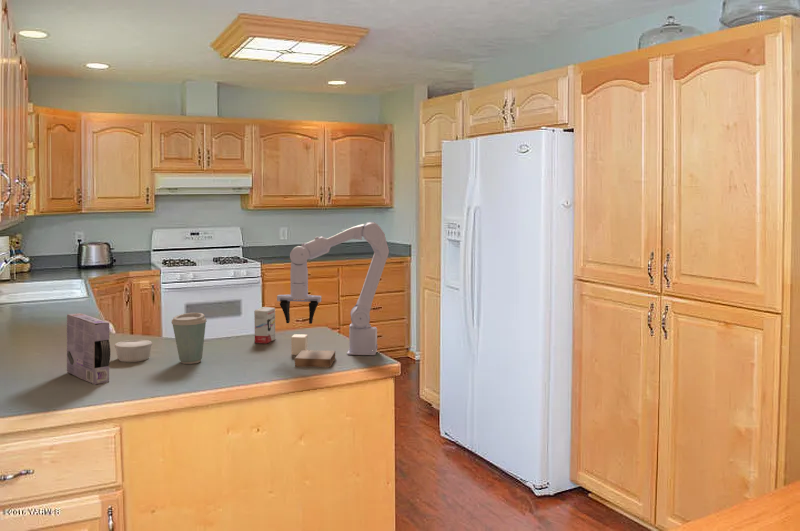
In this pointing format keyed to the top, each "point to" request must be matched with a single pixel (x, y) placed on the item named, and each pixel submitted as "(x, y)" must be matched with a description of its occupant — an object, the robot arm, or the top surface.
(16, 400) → the top surface
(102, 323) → the cake pan box
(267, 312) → the ink box
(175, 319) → the disposable coffee cup
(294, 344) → the cream block
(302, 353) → the walnut block
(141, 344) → the ramekin
